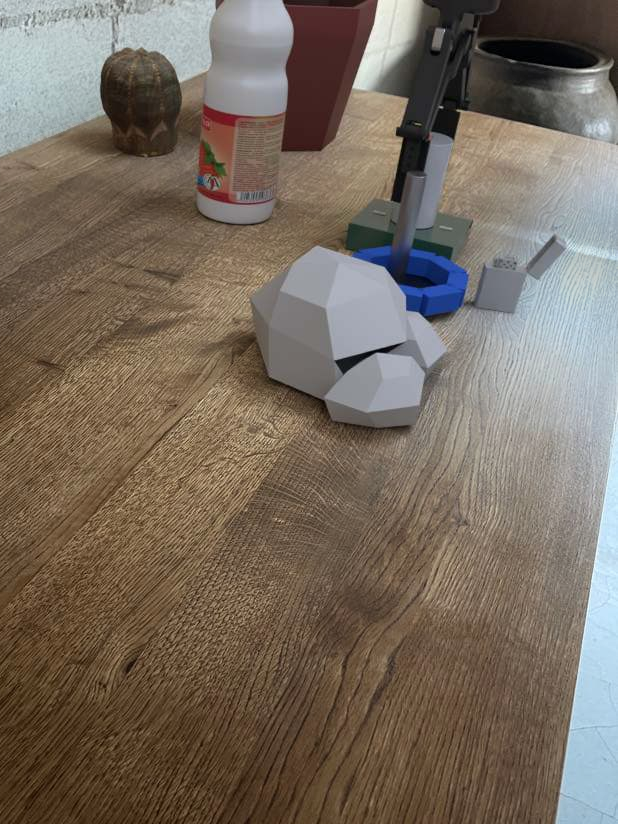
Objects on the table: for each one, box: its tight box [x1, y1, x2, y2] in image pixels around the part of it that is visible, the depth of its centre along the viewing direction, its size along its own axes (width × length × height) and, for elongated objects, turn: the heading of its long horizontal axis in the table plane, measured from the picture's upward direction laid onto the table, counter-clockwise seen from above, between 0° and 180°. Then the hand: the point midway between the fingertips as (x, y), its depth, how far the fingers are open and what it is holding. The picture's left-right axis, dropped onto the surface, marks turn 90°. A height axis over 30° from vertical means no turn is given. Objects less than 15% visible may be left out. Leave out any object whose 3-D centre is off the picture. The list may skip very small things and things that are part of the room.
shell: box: [99, 46, 183, 158], centre depth 124 cm, size 11×11×12 cm
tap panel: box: [344, 197, 474, 264], centre depth 105 cm, size 12×10×3 cm
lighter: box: [473, 233, 568, 314], centre depth 93 cm, size 7×2×8 cm, turn 80°
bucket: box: [214, 0, 379, 152], centre depth 129 cm, size 24×22×25 cm
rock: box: [249, 245, 449, 429], centre depth 78 cm, size 18×20×10 cm
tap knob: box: [391, 132, 455, 229], centre depth 101 cm, size 5×5×9 cm
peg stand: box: [387, 170, 438, 317], centre depth 93 cm, size 9×9×12 cm
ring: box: [351, 246, 470, 317], centre depth 94 cm, size 12×12×2 cm
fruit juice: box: [195, 0, 294, 225], centre depth 102 cm, size 9×9×28 cm
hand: (419, 186), depth 102 cm, fingers open, 13 cm apart
